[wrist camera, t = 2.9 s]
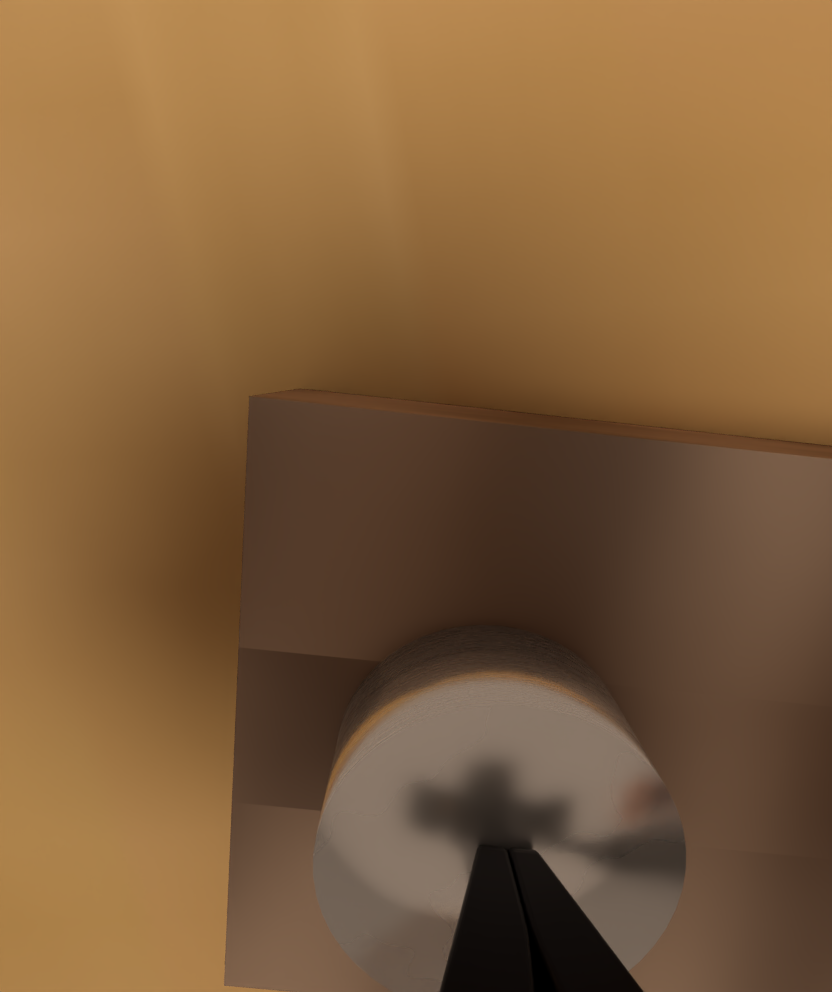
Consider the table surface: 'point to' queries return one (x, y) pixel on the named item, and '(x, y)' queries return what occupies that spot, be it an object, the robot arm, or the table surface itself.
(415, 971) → the grey plunger
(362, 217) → the table surface
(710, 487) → the press block
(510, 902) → the robot arm
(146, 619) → the table surface
